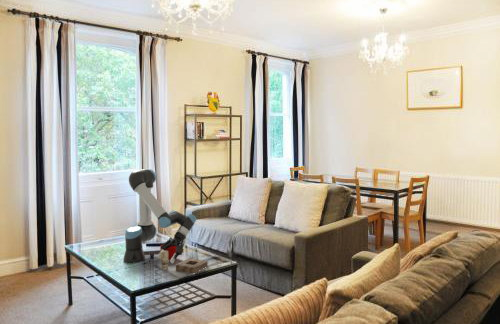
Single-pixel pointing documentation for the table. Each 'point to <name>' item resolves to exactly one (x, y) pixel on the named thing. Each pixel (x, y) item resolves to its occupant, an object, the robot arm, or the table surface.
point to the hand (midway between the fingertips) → (164, 260)
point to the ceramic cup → (170, 251)
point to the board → (191, 265)
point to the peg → (164, 260)
